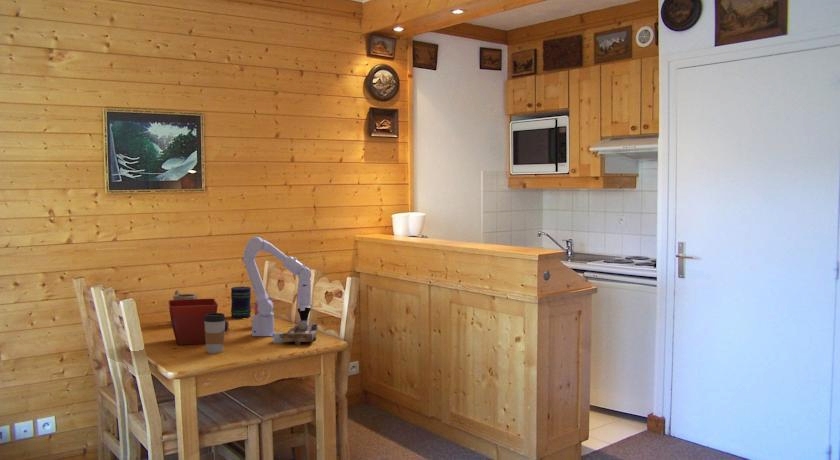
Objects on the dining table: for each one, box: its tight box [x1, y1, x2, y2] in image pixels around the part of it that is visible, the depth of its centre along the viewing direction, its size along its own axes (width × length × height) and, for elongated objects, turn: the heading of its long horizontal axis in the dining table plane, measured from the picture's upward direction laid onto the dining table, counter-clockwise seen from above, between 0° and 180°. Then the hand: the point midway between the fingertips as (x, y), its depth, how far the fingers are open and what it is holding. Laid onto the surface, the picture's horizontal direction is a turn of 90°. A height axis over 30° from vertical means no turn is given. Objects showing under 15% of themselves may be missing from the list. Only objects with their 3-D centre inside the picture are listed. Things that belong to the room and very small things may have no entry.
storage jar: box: [230, 286, 252, 320], centre depth 356 cm, size 10×10×15 cm
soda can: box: [254, 298, 259, 315], centre depth 334 cm, size 7×7×13 cm
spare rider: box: [272, 331, 285, 344], centre depth 300 cm, size 4×4×4 cm
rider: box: [297, 318, 309, 330], centre depth 313 cm, size 4×4×4 cm
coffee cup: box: [204, 312, 226, 354], centre depth 280 cm, size 8×8×15 cm
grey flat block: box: [282, 322, 319, 346], centre depth 305 cm, size 13×22×5 cm, turn 2°
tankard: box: [169, 289, 198, 326], centre depth 338 cm, size 20×13×15 cm, turn 34°
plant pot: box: [167, 298, 218, 346], centre depth 298 cm, size 19×19×17 cm
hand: (304, 324), depth 316 cm, fingers closed
